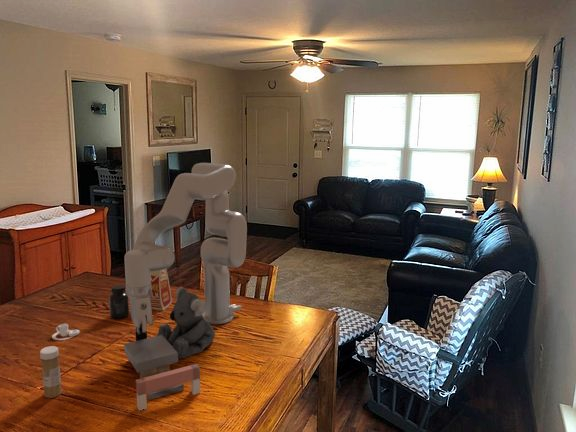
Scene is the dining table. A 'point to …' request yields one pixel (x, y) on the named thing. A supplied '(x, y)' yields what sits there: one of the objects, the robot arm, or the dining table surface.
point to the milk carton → (160, 290)
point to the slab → (150, 353)
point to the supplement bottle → (118, 303)
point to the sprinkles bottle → (51, 371)
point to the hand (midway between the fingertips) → (141, 343)
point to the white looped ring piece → (65, 332)
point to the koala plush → (188, 325)
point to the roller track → (164, 391)
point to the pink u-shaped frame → (167, 382)
